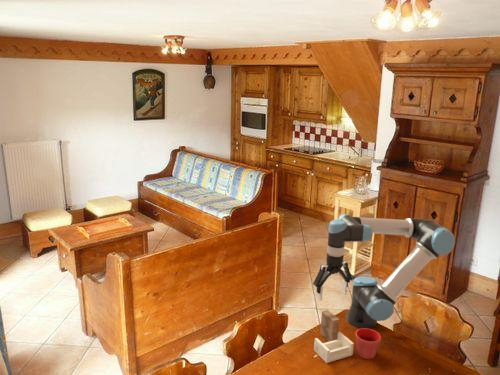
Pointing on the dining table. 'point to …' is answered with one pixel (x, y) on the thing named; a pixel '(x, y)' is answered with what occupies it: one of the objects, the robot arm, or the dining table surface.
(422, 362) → the dining table surface
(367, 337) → the flower pot
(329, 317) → the walnut panel
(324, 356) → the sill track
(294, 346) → the dining table surface
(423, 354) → the dining table surface
